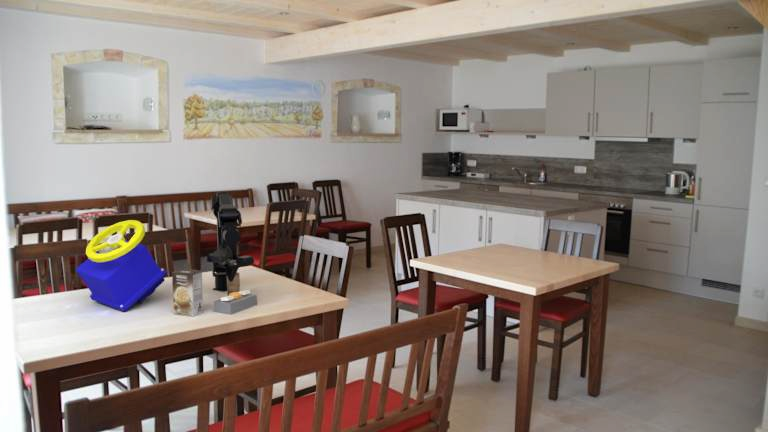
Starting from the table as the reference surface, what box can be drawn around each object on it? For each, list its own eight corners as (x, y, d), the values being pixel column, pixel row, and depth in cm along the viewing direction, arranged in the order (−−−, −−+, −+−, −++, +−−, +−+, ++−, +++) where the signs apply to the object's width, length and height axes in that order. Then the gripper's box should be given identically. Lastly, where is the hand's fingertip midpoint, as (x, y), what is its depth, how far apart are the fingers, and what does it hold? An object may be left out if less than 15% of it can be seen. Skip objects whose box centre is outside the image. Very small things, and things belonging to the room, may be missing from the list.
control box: (148, 269, 268) (113, 214, 251) (188, 282, 253) (154, 224, 236) (100, 312, 253) (59, 255, 236) (140, 328, 238) (99, 269, 221)
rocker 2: (237, 295, 245) (236, 292, 245) (242, 293, 248) (242, 290, 248) (244, 295, 243) (244, 292, 243) (250, 293, 246) (249, 290, 246)
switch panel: (214, 311, 237) (213, 301, 237) (240, 302, 250) (240, 292, 250) (230, 314, 234) (230, 304, 233) (256, 304, 247) (256, 294, 246)
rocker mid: (228, 296, 241) (229, 293, 241) (234, 294, 244) (234, 291, 243) (236, 299, 239) (236, 296, 239) (241, 297, 242) (242, 294, 242)
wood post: (224, 298, 256) (224, 274, 255) (233, 295, 260) (232, 271, 259) (234, 299, 254) (233, 275, 252) (242, 297, 258) (241, 272, 257)
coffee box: (172, 314, 234) (170, 271, 231) (183, 309, 240) (181, 268, 237) (193, 317, 231) (191, 273, 228) (204, 312, 237) (202, 270, 234)
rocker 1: (220, 300, 237) (220, 297, 237) (226, 298, 240) (226, 295, 239) (228, 300, 235) (227, 297, 235) (234, 298, 238) (233, 295, 238)
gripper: (195, 242, 237) (197, 283, 238) (234, 246, 228) (235, 288, 230) (216, 237, 246) (218, 277, 248) (254, 241, 238) (255, 282, 239)
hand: (231, 281), depth 241 cm, fingers closed
